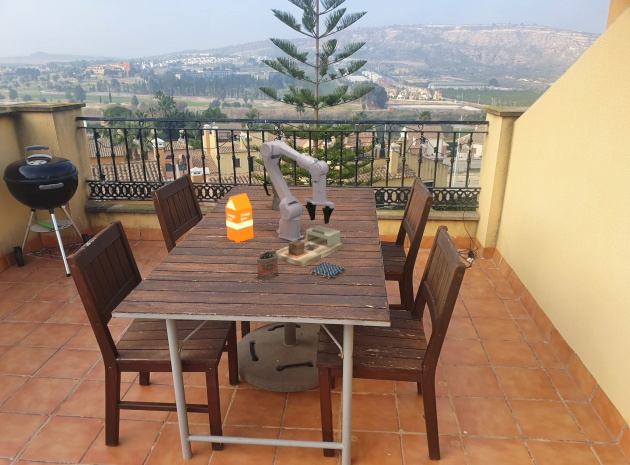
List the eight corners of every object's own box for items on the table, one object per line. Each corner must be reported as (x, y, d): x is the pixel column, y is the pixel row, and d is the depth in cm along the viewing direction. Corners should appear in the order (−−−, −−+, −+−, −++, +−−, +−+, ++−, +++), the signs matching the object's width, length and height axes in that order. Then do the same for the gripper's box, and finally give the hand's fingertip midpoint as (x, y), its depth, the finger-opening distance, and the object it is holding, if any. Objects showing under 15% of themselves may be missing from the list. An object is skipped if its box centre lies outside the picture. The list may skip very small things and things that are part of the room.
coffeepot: (290, 205, 256) (290, 173, 250) (293, 210, 247) (293, 177, 241) (263, 207, 253) (261, 174, 247) (265, 212, 244) (263, 178, 238)
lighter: (259, 280, 166) (258, 254, 163) (256, 276, 169) (255, 251, 166) (280, 275, 170) (279, 250, 166) (276, 272, 172) (275, 247, 169)
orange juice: (253, 237, 208) (251, 194, 201) (237, 242, 202) (235, 198, 195) (242, 233, 213) (240, 191, 206) (227, 238, 207) (224, 195, 200)
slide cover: (305, 240, 198) (305, 228, 196) (317, 235, 204) (317, 223, 202) (328, 246, 190) (329, 234, 189) (340, 241, 196) (340, 229, 194)
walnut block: (288, 253, 184) (288, 242, 183) (295, 250, 187) (295, 239, 186) (297, 256, 181) (297, 245, 180) (304, 252, 185) (304, 242, 183)
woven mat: (332, 281, 166) (332, 276, 165) (308, 274, 172) (308, 269, 171) (347, 272, 174) (347, 267, 173) (324, 265, 180) (324, 260, 179)
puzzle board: (273, 257, 186) (272, 252, 185) (313, 239, 205) (313, 234, 204) (303, 267, 177) (303, 262, 176) (342, 247, 196) (342, 243, 195)
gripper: (299, 189, 193) (300, 220, 197) (326, 195, 184) (327, 227, 189) (310, 186, 198) (311, 216, 203) (337, 191, 189) (337, 223, 194)
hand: (319, 221), depth 196 cm, fingers open, 7 cm apart
